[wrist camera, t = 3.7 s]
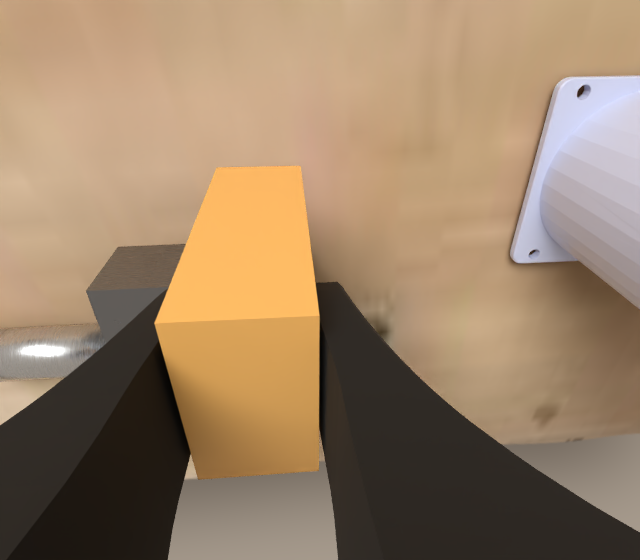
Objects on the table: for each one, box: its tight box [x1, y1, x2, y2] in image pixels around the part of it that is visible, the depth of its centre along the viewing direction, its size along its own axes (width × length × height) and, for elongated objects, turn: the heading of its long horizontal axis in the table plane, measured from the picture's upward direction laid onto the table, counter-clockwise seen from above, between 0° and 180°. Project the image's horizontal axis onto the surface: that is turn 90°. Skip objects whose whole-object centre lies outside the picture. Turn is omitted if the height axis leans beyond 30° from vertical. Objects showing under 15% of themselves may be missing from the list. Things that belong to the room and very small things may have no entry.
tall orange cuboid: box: [154, 166, 320, 480], centre depth 10 cm, size 2×4×7 cm, turn 0°
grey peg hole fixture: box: [0, 244, 186, 382], centre depth 19 cm, size 16×9×4 cm, turn 91°
